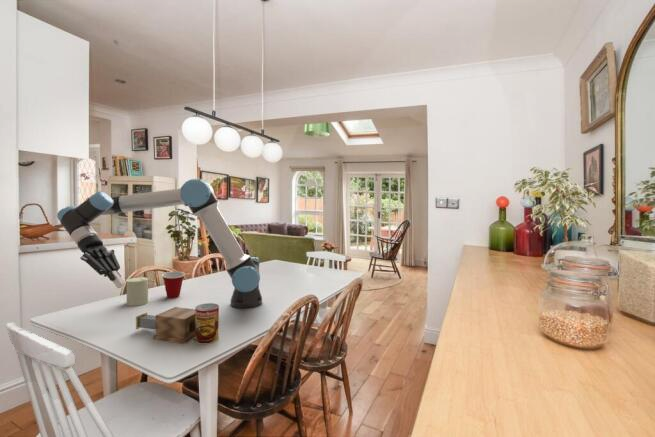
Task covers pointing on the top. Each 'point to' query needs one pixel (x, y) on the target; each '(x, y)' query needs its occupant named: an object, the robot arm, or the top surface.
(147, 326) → the shaft
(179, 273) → the plastic cup
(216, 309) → the canned food
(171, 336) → the bearing block
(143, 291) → the can
